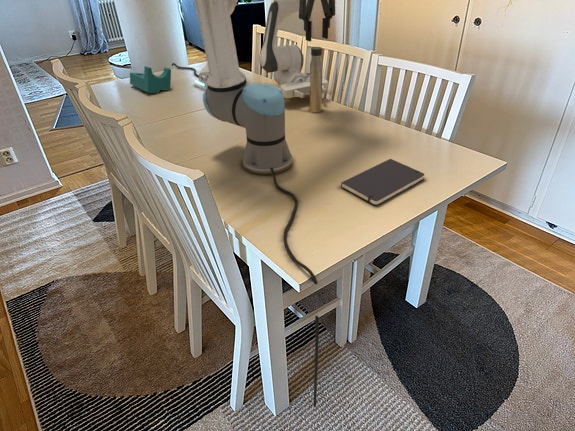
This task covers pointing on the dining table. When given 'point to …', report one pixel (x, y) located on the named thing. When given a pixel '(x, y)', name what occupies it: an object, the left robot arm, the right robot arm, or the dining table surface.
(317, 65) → the bottle
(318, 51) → the cap
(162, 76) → the green notched holder
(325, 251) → the dining table surface
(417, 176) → the notebook
